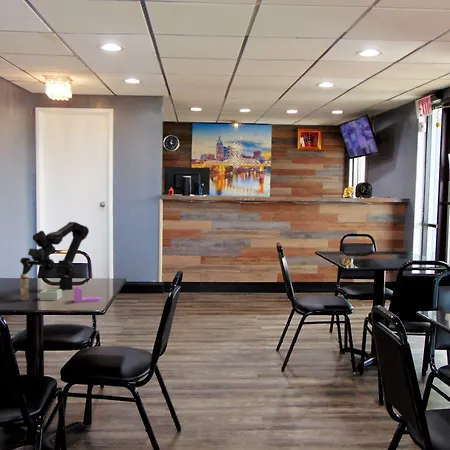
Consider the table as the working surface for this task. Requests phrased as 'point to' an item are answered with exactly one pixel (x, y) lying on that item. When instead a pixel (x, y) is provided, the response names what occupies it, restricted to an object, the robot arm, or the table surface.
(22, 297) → the beige cylinder
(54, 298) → the square frame
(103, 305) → the table surface
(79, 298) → the bracket
